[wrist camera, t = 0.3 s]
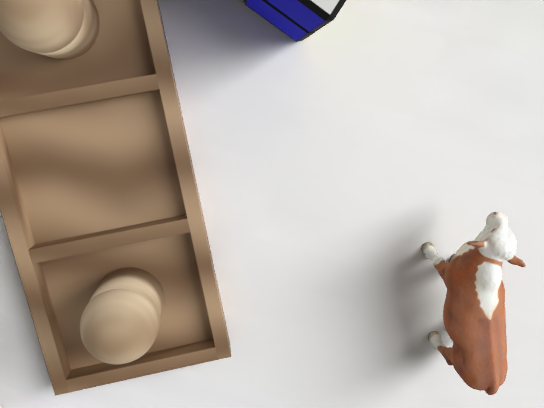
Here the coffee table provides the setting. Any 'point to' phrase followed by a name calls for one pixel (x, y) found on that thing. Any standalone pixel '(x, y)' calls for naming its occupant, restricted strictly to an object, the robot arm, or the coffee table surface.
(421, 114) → the coffee table surface
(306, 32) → the puzzle cube
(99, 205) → the wooden compartment tray
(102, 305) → the tan egg far
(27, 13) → the tan egg near
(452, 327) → the bull figurine
